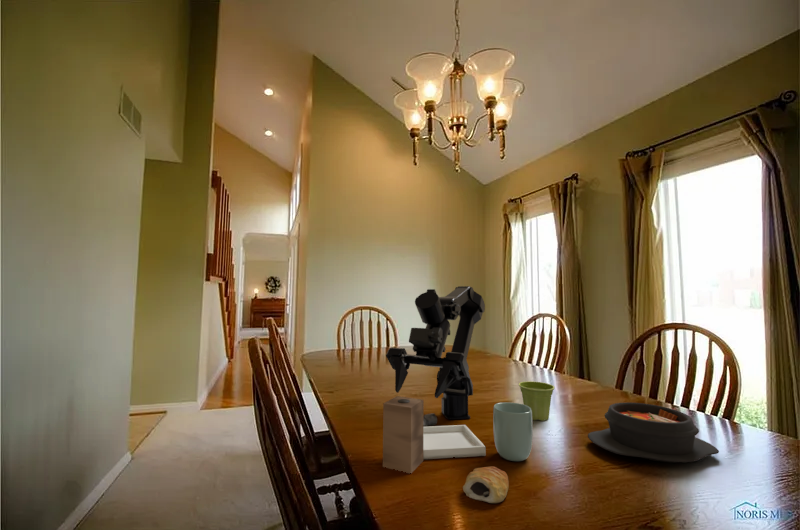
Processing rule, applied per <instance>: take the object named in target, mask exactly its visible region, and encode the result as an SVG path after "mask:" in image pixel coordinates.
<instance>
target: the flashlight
mask: <svg viewBox="0 0 800 530" xmlns="http://www.w3.org/2000/svg"><path fill="white" fill-rule="evenodd" d="M437 424H438V418H437V415H436V414H435V413H434V412H433V413H427V414H423V427H428V426H437Z"/></svg>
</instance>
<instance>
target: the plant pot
mask: <svg viewBox="0 0 800 530" xmlns="http://www.w3.org/2000/svg"><path fill="white" fill-rule="evenodd" d="M518 386H519V388H520V392H521V395H522V402H523V403H522V404H523V405H526V406H529V407H530V408H531V410H532V421H537V420H539V421H541V422H543V421H548V420H549V419H550V411H551V402H552V395H553V393H554V390H555V386H554V385H553V384H550V383H548V382H543V381H535V380H534V381H532V380H530V381H527V380H526V381H521V382H519V383H518Z"/></svg>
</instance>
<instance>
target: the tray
mask: <svg viewBox="0 0 800 530" xmlns="http://www.w3.org/2000/svg"><path fill="white" fill-rule="evenodd" d="M486 450H487V449H486V446H485V445H484V443H483V442H482V441H481V440H480V439H479V438H478V437H477V436H476V434H474V433H473V431H472V430H471V429H470V428H469V427H468V426H467V425H466V424H457V425H454V424H452V425H432V426H426V427H423V460H433V459H434V460H436V459H450V458H451V459H452V458H453V457H455V458H467V457H468V458H471V457H485V456H486V455H487V453H486V452H487V451H486ZM453 459H454V458H453Z"/></svg>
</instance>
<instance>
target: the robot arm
mask: <svg viewBox="0 0 800 530" xmlns="http://www.w3.org/2000/svg"><path fill="white" fill-rule="evenodd" d="M414 304H415V307H416V309H417V312H418V314H419V316H420V318H421V321H422V323H423V324H425V325H426V326H425V328H424V327H411V328H410V333H409V338H408V343H410V344H412V345H413V346H412V351H413V352H415V354H408V352H407V350H406V348H403V347H402V348H401V347H390V348H388V350H387V352H386V354H385V357H386V359H387V361H388V362H389V365H390V366H391V368H392V370H394V371H395V372H394V373H395V374H394V375H395V376H394V377H395V383H394V387H395V388H394V389H395V390H394V391H395V392H396V393H399V392H400V391H401V389H402V387H403V385H404V383H405V382H406V378H407V376H408V375H409V371H408V370H409V369H410V366H411V365H421V366H426V367H434V368H438V371H437V375H436V383H437V384H436V386H435V387H436V388H435V391H434V397H435V399H438V398H439V397H440V396H441V395H442V394H443V395H442V396H443V397H441V413H442V414H443V416H444V417H445V418H446V419H447V420H464V419H466V420H467V419H469V420H470V419H471V416H470V415H469V396H473V395H474V385H473V381H472V379H471V376H470V372H469V369H470V367H469V364H468V360H467V358H468V354H469V349H470V346H471V341H472V338H473V331H474V329H475V328H474V327H475V324H477V323H478V322H480V320H482V317H483V314H484V312H485V310H486V305H485V301H484V298H483V296H482V295H481V294H479V293H477V292H476V291H475V289H474V288H473V286H469V285H467V286H466V285H465V286H463V285H460V286H455V289H454V290H452V291H451V292H450V293H448V294H447V295H445V296H439V295H438V294H437V291H436V289H435V288H434V289H431V288H428V289H427V290H426V291H425V292H422V293H420V294H419V295H418V296H417V297H416V298H415V300H414ZM458 317H459V321H458V325H457V329H456V332H455V335H454V339H453V343H452V347H451V351H447V352H446V341H447V339H448V336H451V323H450V321H456V320H457V319H458ZM443 353H445V357H442V355H443Z"/></svg>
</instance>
